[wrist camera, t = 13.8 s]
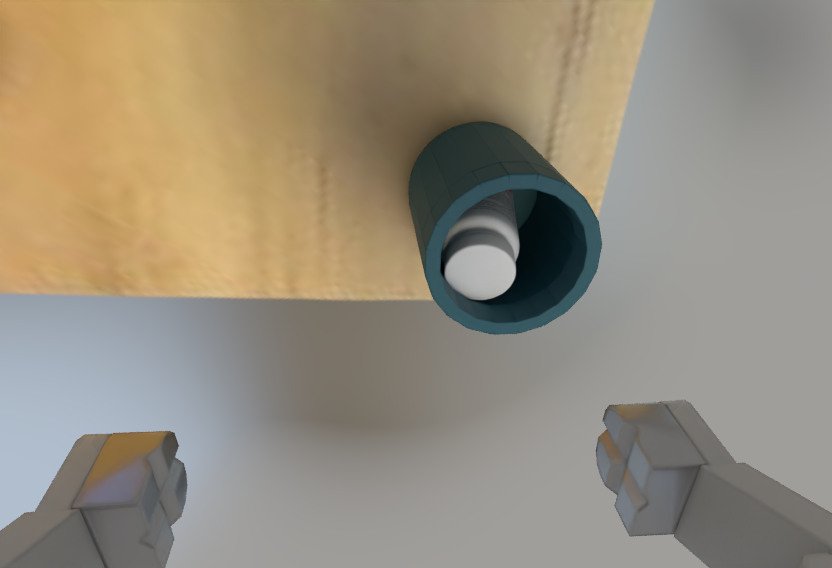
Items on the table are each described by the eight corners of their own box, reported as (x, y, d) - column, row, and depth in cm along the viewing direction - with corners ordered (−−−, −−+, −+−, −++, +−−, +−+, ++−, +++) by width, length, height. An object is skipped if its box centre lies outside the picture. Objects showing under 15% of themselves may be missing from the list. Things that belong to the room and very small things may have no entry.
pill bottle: (434, 171, 36) (428, 246, 30) (507, 157, 35) (518, 231, 29) (448, 231, 39) (446, 311, 33) (516, 219, 38) (528, 299, 32)
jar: (409, 122, 36) (427, 175, 26) (548, 121, 36) (616, 172, 27) (407, 251, 40) (423, 337, 30) (532, 248, 41) (585, 331, 31)
